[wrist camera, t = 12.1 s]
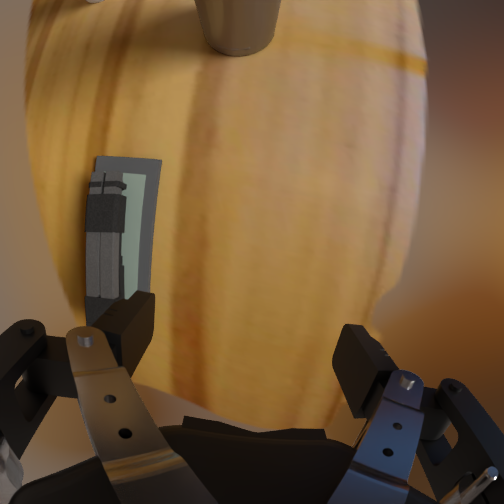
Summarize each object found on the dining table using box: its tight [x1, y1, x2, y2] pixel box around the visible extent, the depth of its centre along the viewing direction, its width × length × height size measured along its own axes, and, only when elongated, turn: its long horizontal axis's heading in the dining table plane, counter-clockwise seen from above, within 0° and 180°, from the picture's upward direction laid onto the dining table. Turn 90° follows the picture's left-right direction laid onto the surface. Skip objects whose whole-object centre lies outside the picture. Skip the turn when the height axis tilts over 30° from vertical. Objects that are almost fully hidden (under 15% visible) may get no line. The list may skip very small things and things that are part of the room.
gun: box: [85, 170, 127, 326], centre depth 33 cm, size 4×20×10 cm, turn 177°
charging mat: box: [95, 156, 162, 299], centre depth 35 cm, size 25×9×1 cm, turn 171°
